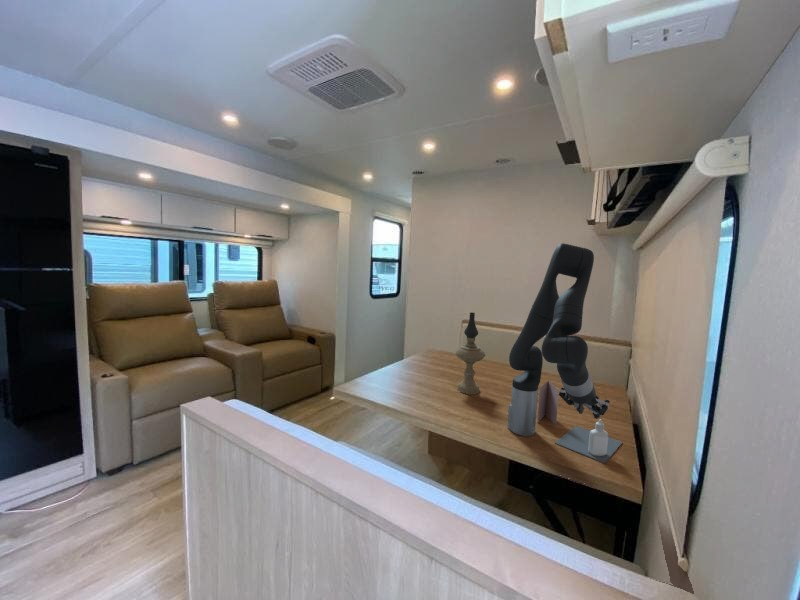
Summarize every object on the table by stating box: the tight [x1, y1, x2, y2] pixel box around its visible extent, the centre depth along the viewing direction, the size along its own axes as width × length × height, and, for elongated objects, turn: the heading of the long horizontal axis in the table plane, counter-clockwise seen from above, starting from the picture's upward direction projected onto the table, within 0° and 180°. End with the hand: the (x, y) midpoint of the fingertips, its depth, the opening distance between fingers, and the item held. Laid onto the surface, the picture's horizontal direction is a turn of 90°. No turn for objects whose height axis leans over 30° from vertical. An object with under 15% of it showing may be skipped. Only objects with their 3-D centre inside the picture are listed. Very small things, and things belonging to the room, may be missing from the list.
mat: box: [554, 425, 623, 464], centre depth 120 cm, size 16×20×1 cm
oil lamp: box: [454, 311, 486, 395], centre depth 168 cm, size 15×15×40 cm
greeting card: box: [537, 380, 560, 427], centre depth 137 cm, size 11×7×15 cm, turn 141°
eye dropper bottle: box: [588, 418, 609, 456], centre depth 112 cm, size 4×6×12 cm
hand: (589, 413), depth 103 cm, fingers open, 3 cm apart
